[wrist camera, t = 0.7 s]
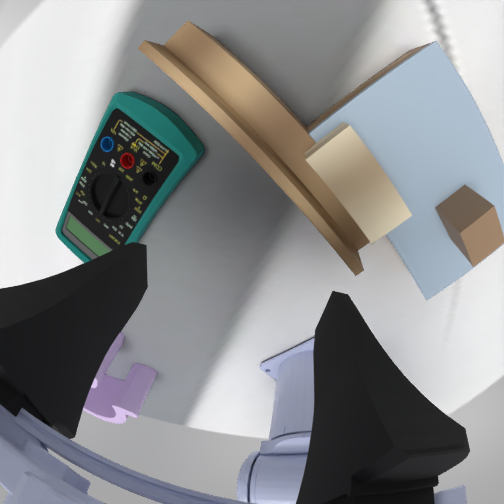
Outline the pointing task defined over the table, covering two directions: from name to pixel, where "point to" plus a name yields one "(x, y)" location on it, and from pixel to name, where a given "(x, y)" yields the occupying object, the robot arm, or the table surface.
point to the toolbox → (263, 127)
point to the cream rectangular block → (358, 182)
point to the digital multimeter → (126, 175)
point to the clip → (118, 390)
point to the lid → (432, 165)
